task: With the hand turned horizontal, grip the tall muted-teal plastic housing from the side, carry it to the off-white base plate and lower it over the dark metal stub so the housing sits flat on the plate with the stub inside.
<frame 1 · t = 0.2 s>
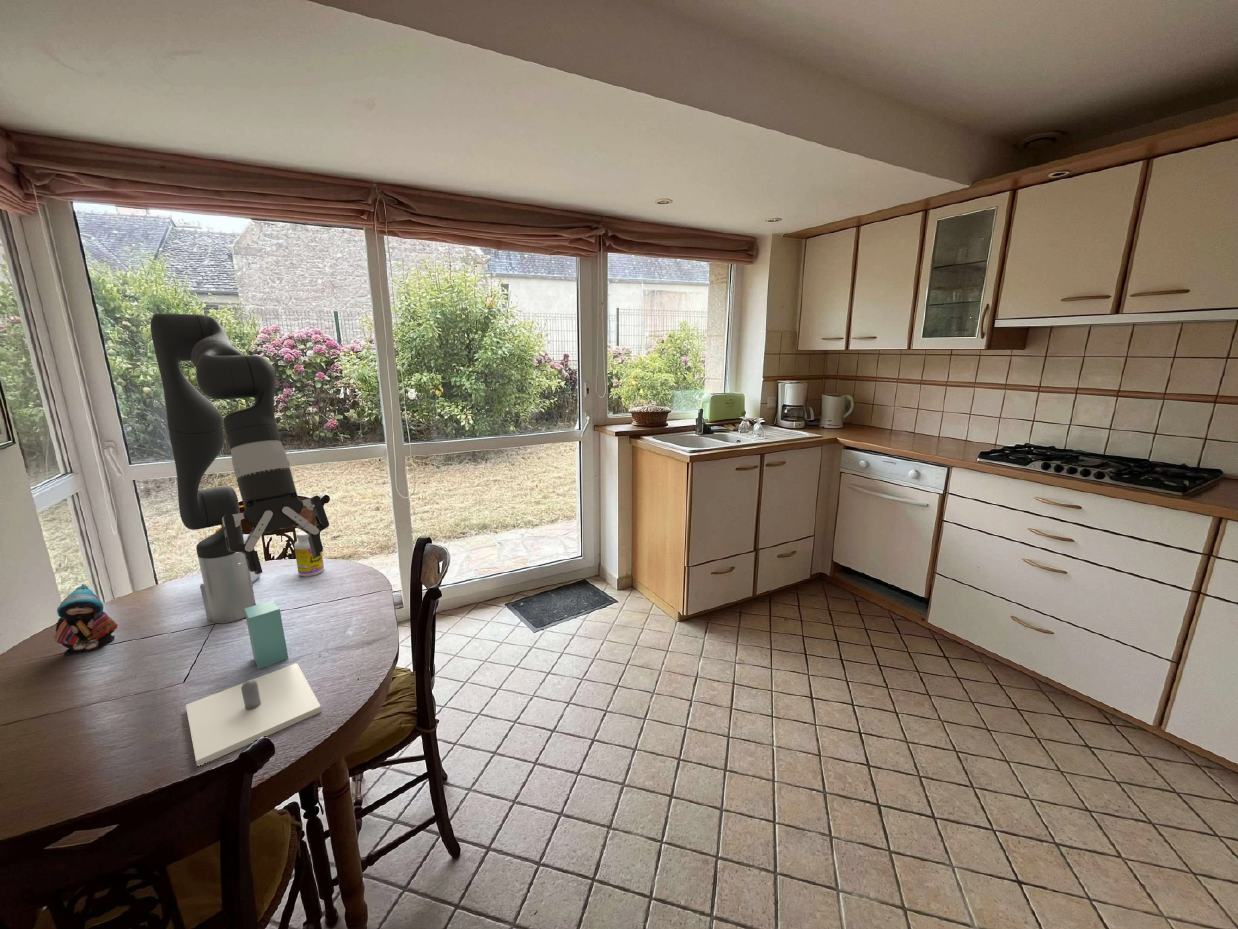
hand: (288, 565, 83), 31 cm above the table, tool tilted 20°, fingers open, 8 cm apart
supplement bottle: (311, 572, 150), on the table
figurine: (91, 649, 112), on the table
soap bottle: (241, 581, 144), on the table
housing: (271, 658, 109), on the table
stub base: (254, 711, 93), on the table
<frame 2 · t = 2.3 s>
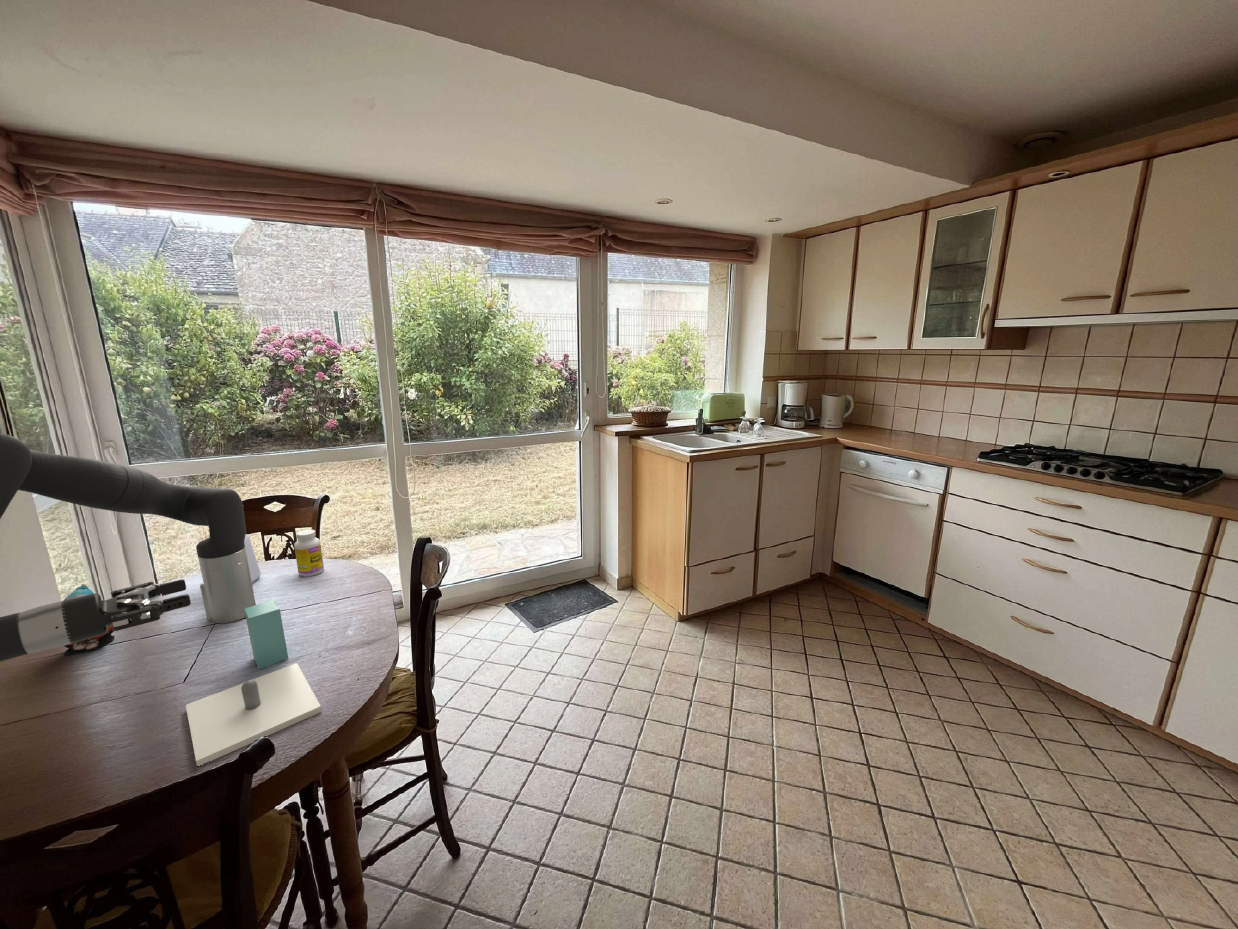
hand: (187, 591, 96), 20 cm above the table, tool horizontal, fingers open, 8 cm apart
nothing on the table moved.
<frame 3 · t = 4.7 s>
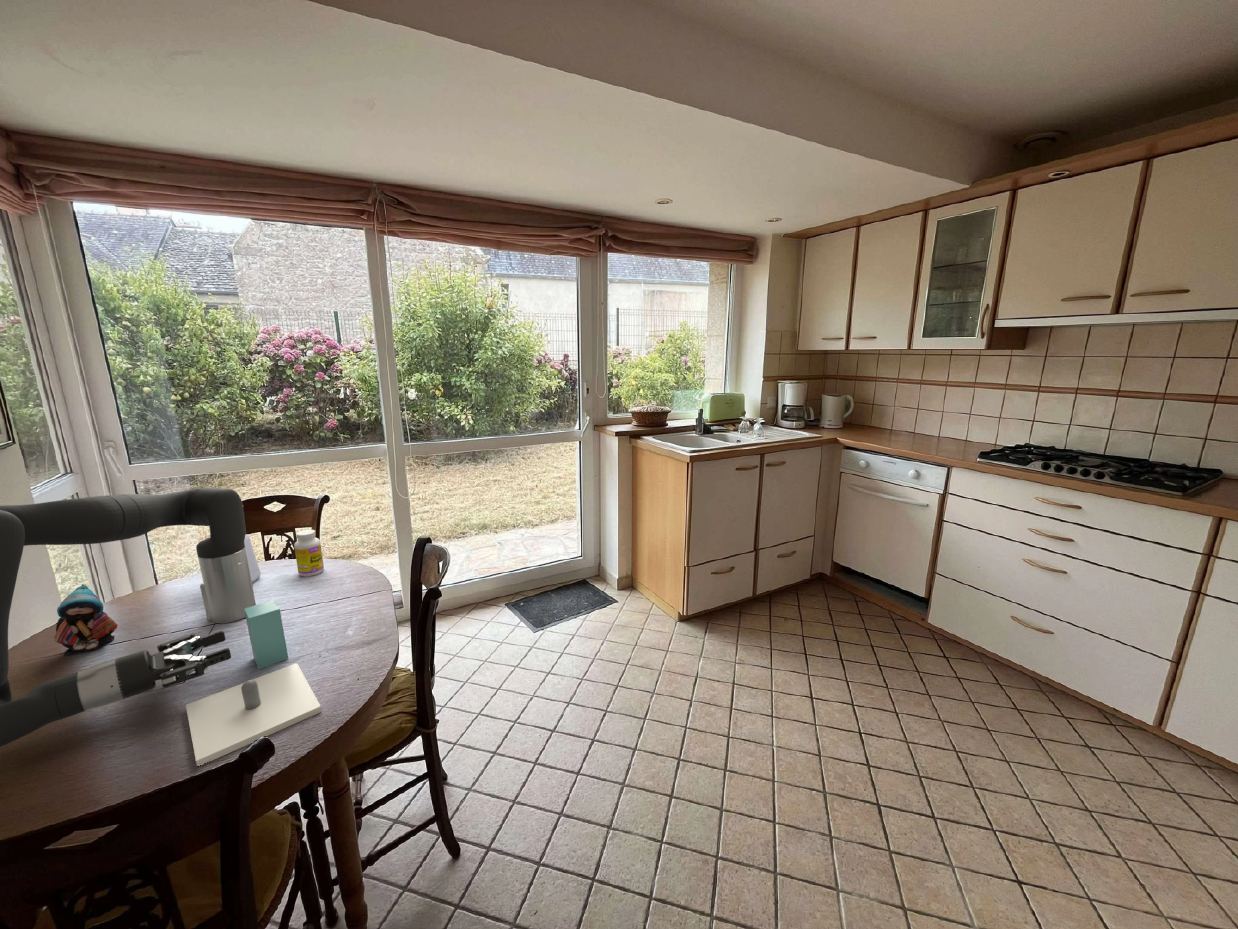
hand: (227, 643, 103), 7 cm above the table, tool horizontal, fingers open, 8 cm apart
nothing on the table moved.
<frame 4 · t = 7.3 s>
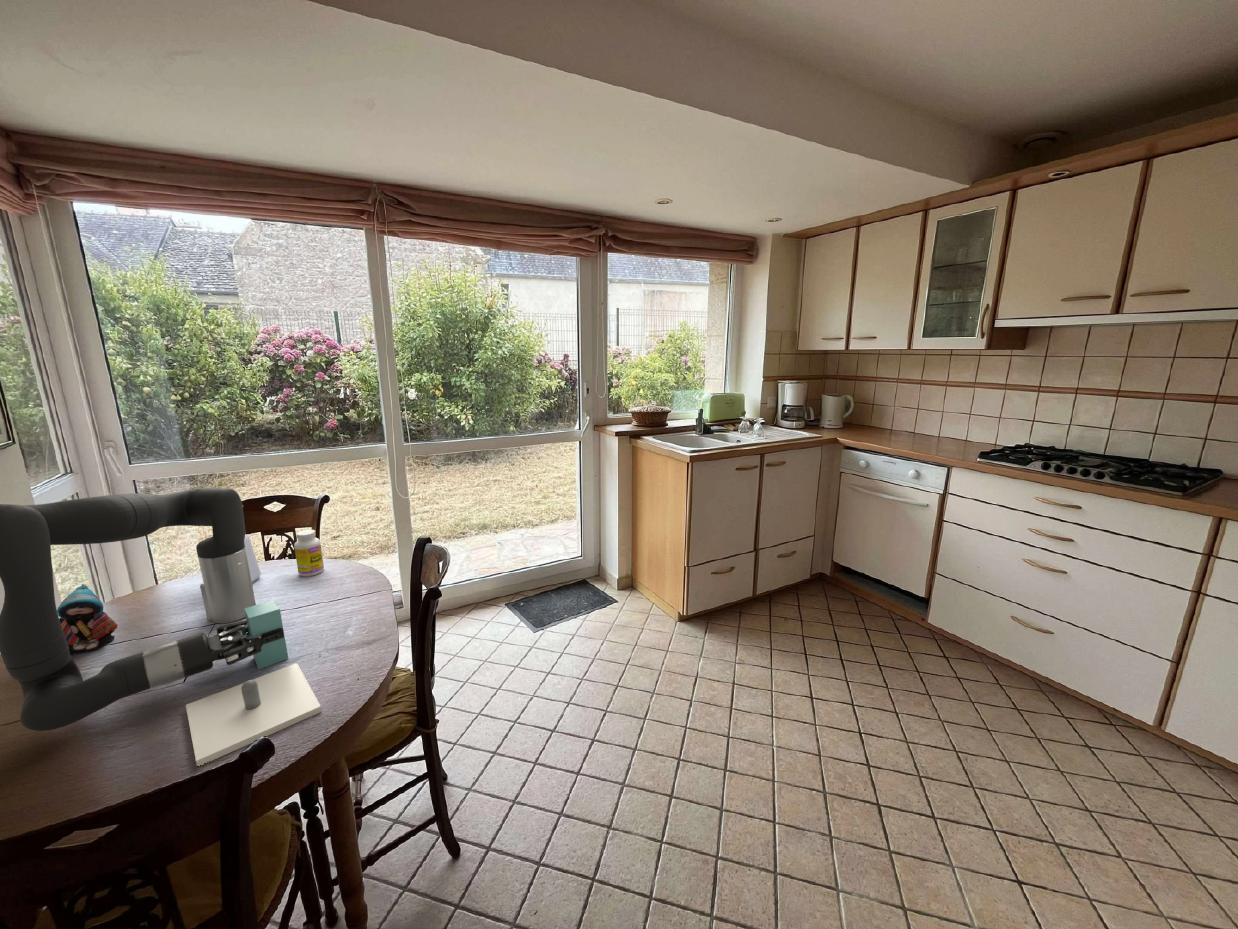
hand: (279, 626, 109), 7 cm above the table, tool horizontal, fingers closed on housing, 5 cm apart
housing: (271, 658, 109), on the table, touching gripper
everything else where it was.
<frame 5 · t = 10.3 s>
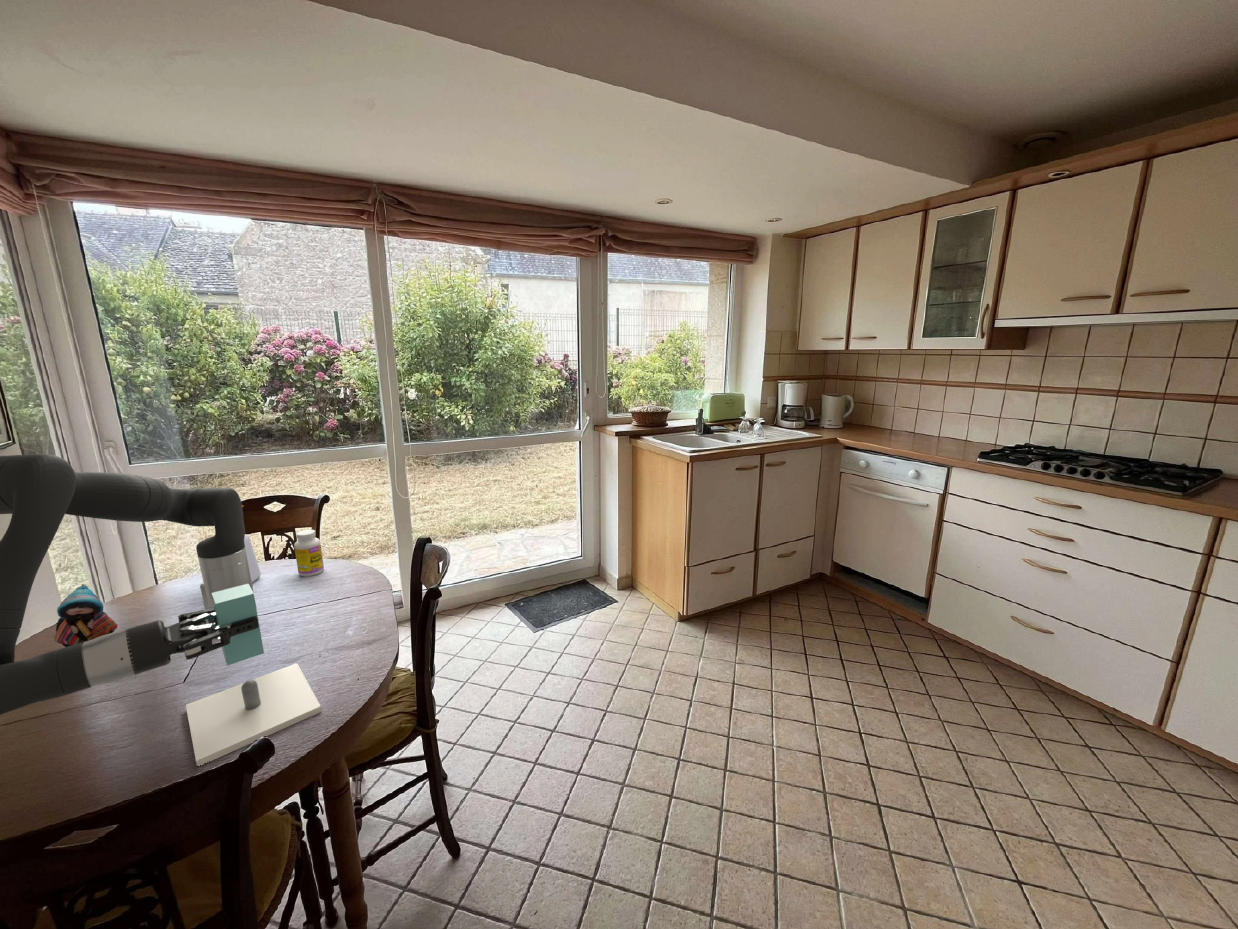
hand: (254, 615, 92), 18 cm above the table, tool horizontal, fingers closed on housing, 5 cm apart
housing: (243, 652, 92), point 11 cm above the table, touching gripper
everything else where it was.
when the fingers open (9 cm above the table, at t = 13.6 s): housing drops 1 cm, resting on stub base.
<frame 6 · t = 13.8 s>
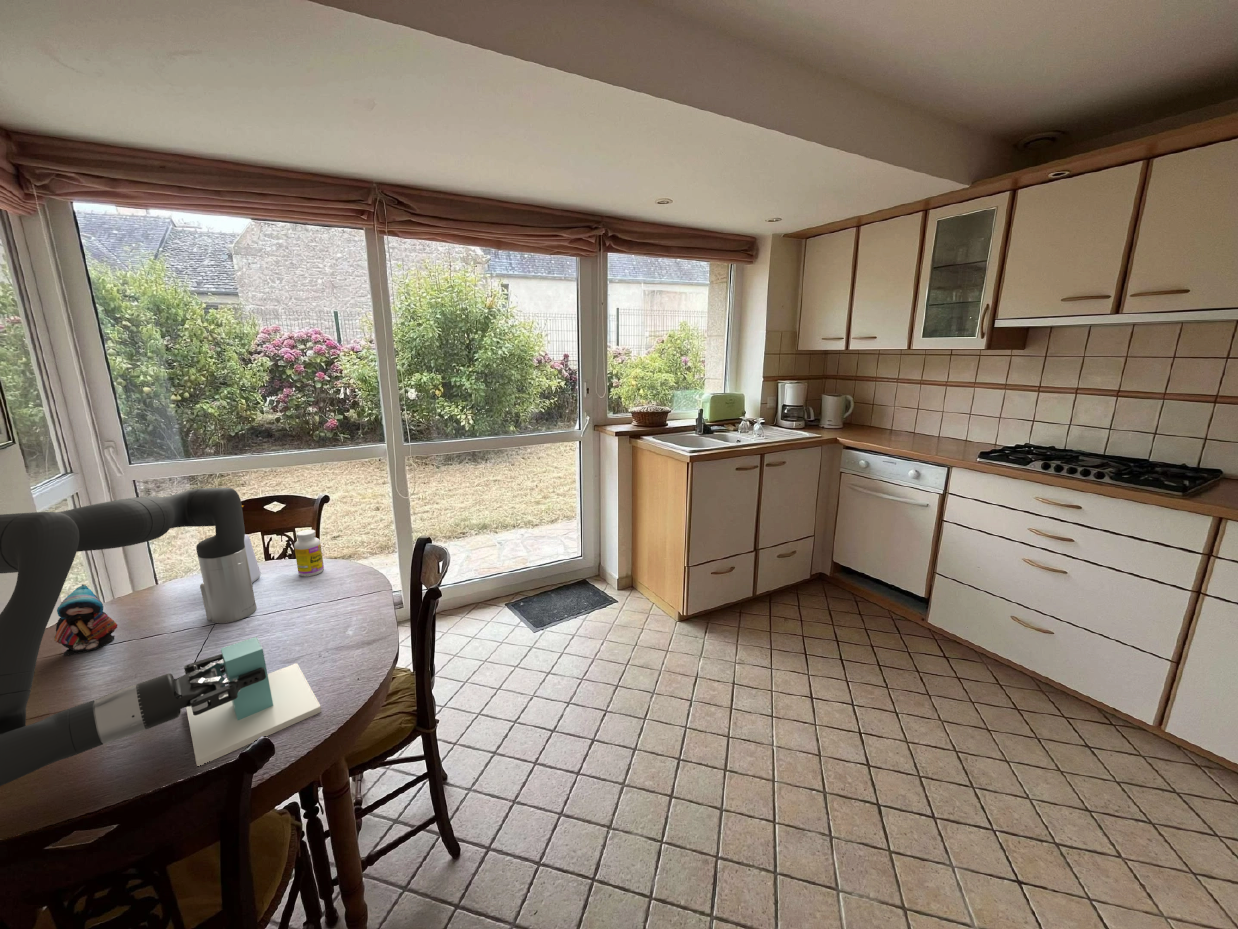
hand: (260, 663, 92), 9 cm above the table, tool horizontal, fingers open, 6 cm apart
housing: (253, 705, 93), point 1 cm above the table, touching stub base
everything else where it was.
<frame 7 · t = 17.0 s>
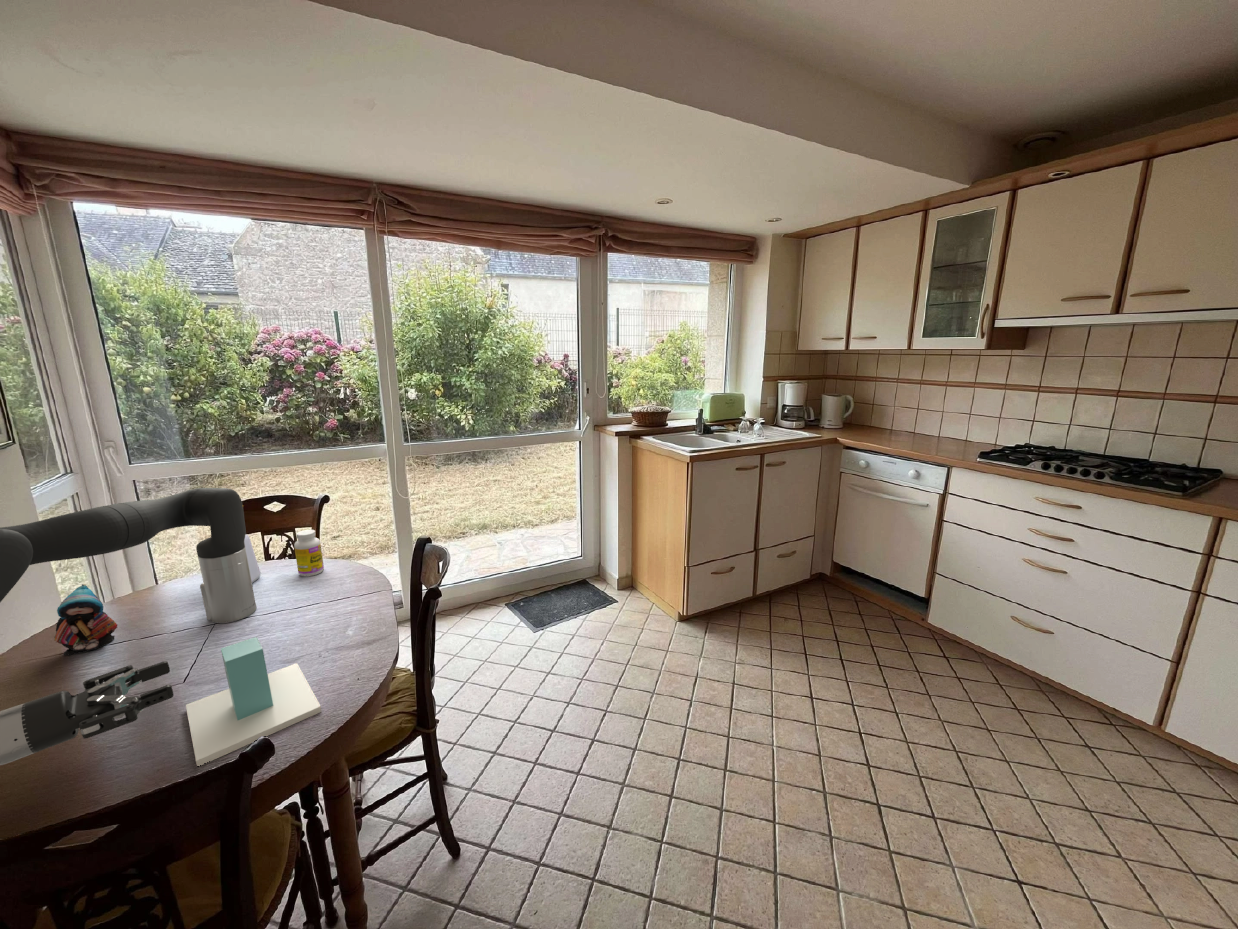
hand: (170, 677, 85), 11 cm above the table, tool horizontal, fingers open, 8 cm apart
nothing on the table moved.
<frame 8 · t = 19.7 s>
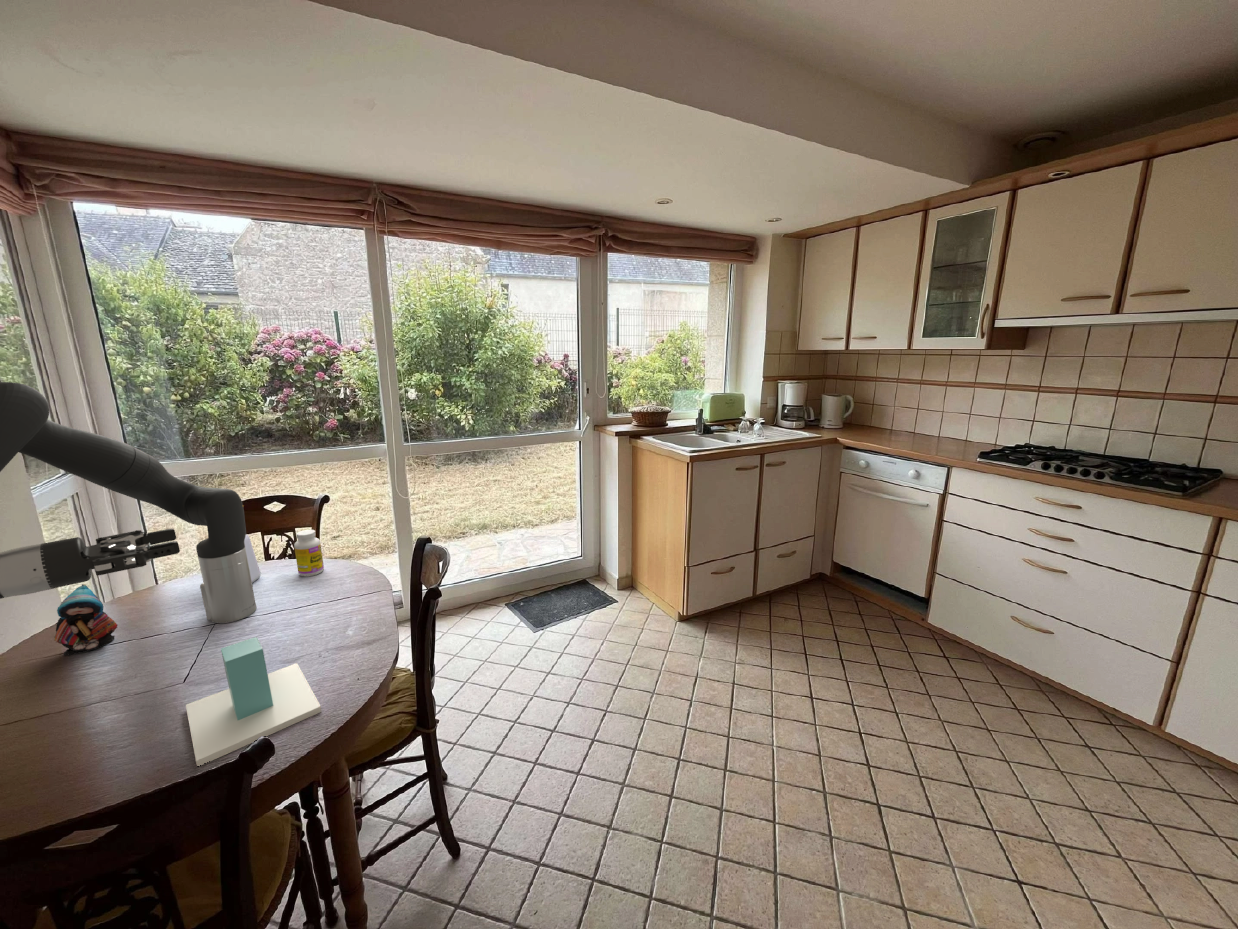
hand: (177, 540, 91), 32 cm above the table, tool horizontal, fingers open, 8 cm apart
nothing on the table moved.
at the end: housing 0.0 cm from the stub base (horizontally); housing point 1.2 cm above the table; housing tilted 0° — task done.
